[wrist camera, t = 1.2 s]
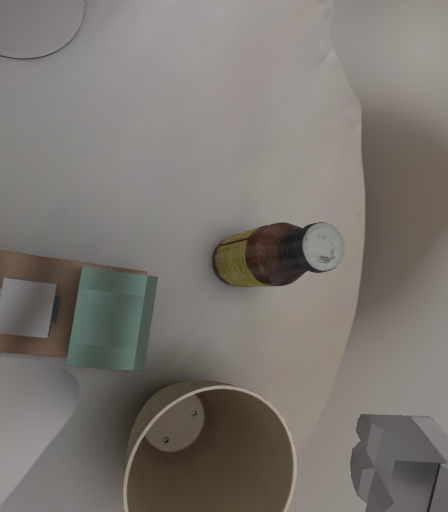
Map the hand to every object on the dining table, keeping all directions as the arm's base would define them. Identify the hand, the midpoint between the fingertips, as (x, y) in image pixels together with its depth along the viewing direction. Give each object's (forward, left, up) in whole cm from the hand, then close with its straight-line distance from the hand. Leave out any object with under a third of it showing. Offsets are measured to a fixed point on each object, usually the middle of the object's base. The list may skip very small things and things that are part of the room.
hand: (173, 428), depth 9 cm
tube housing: (-5, -5, -40) cm, 41 cm away
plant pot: (+16, -2, -41) cm, 44 cm away
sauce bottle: (+7, +16, -41) cm, 44 cm away
